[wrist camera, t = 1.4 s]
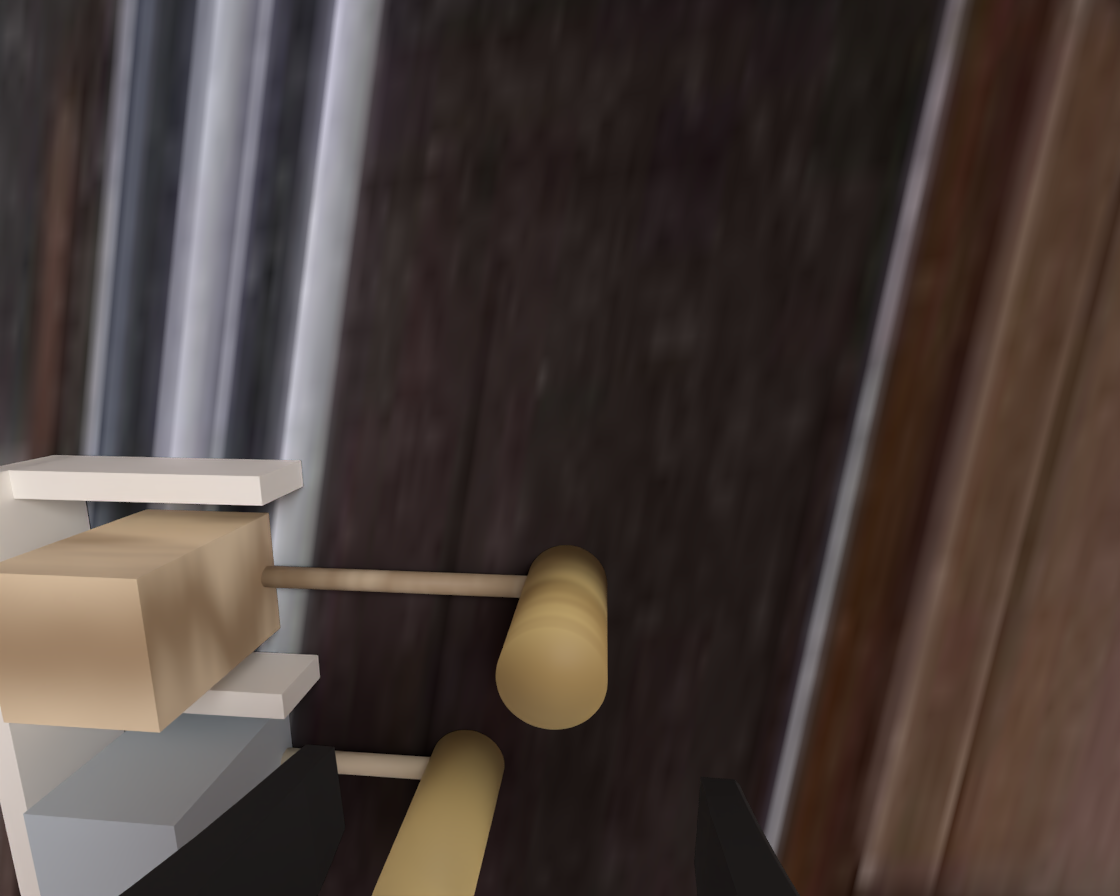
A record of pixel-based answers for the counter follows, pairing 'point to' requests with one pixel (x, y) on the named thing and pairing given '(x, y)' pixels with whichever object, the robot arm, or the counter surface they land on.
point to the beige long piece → (248, 620)
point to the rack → (60, 512)
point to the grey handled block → (227, 776)
